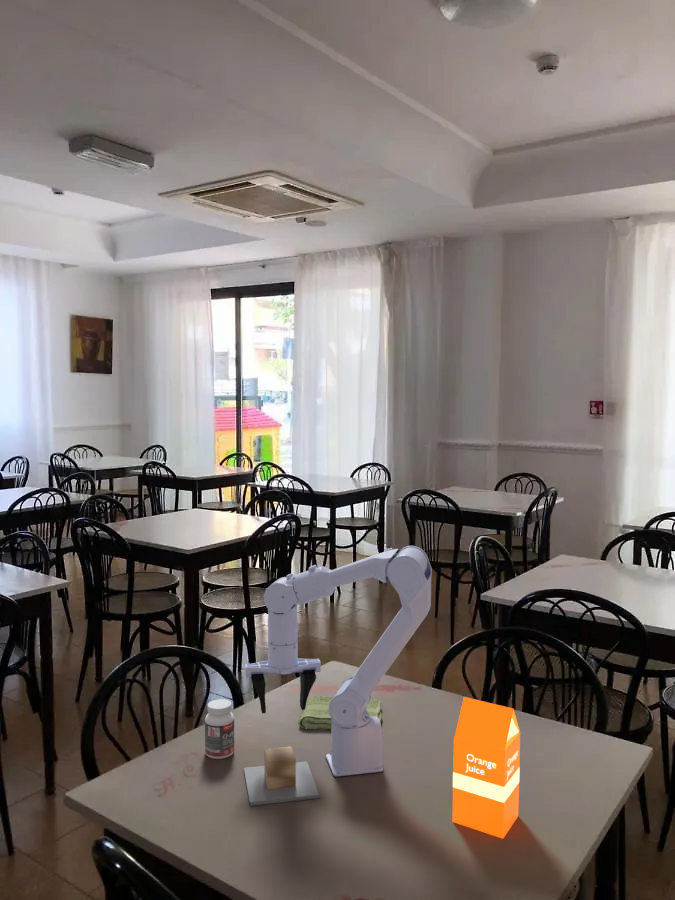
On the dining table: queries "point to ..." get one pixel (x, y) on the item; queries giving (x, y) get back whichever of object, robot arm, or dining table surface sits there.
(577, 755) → the dining table surface
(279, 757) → the oak cube
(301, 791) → the grey board
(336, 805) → the dining table surface
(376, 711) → the washcloth
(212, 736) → the pill bottle
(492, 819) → the orange juice
